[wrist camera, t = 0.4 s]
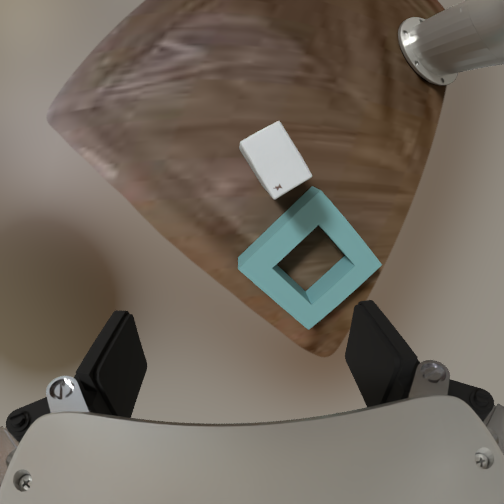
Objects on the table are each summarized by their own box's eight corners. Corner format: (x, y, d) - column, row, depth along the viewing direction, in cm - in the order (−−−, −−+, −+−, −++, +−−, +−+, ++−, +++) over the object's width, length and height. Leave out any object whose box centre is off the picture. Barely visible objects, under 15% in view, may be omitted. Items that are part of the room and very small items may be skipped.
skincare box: (290, 170, 35) (314, 178, 24) (262, 186, 36) (273, 202, 24) (266, 130, 33) (280, 119, 22) (237, 146, 34) (237, 143, 22)
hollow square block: (312, 186, 36) (320, 190, 32) (370, 254, 40) (381, 264, 36) (238, 257, 39) (238, 269, 35) (303, 315, 43) (308, 329, 39)
